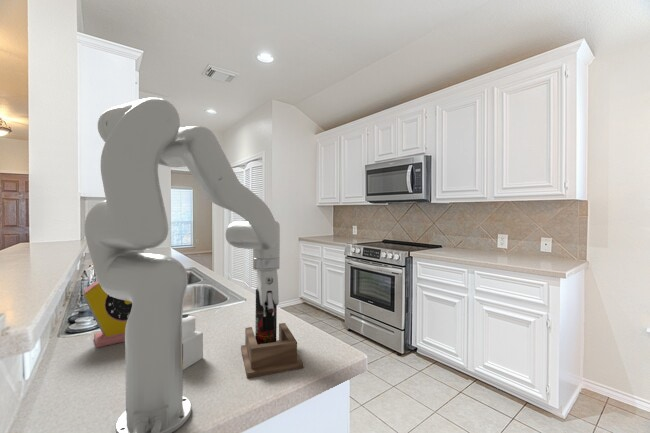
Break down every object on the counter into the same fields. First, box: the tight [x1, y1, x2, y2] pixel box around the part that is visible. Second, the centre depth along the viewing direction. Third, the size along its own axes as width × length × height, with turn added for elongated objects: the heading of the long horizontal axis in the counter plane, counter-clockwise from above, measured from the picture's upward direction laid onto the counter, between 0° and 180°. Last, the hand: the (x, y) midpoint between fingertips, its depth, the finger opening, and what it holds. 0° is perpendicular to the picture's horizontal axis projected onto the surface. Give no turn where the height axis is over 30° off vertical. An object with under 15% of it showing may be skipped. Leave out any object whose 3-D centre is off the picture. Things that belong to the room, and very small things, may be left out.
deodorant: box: [254, 288, 278, 345], centre depth 89 cm, size 6×6×15 cm
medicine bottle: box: [182, 313, 204, 371], centre depth 82 cm, size 7×7×12 cm
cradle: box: [240, 322, 304, 379], centre depth 84 cm, size 16×14×6 cm
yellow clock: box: [82, 279, 132, 349], centre depth 98 cm, size 22×9×22 cm, turn 130°
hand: (266, 325), depth 89 cm, fingers closed on deodorant, 5 cm apart
